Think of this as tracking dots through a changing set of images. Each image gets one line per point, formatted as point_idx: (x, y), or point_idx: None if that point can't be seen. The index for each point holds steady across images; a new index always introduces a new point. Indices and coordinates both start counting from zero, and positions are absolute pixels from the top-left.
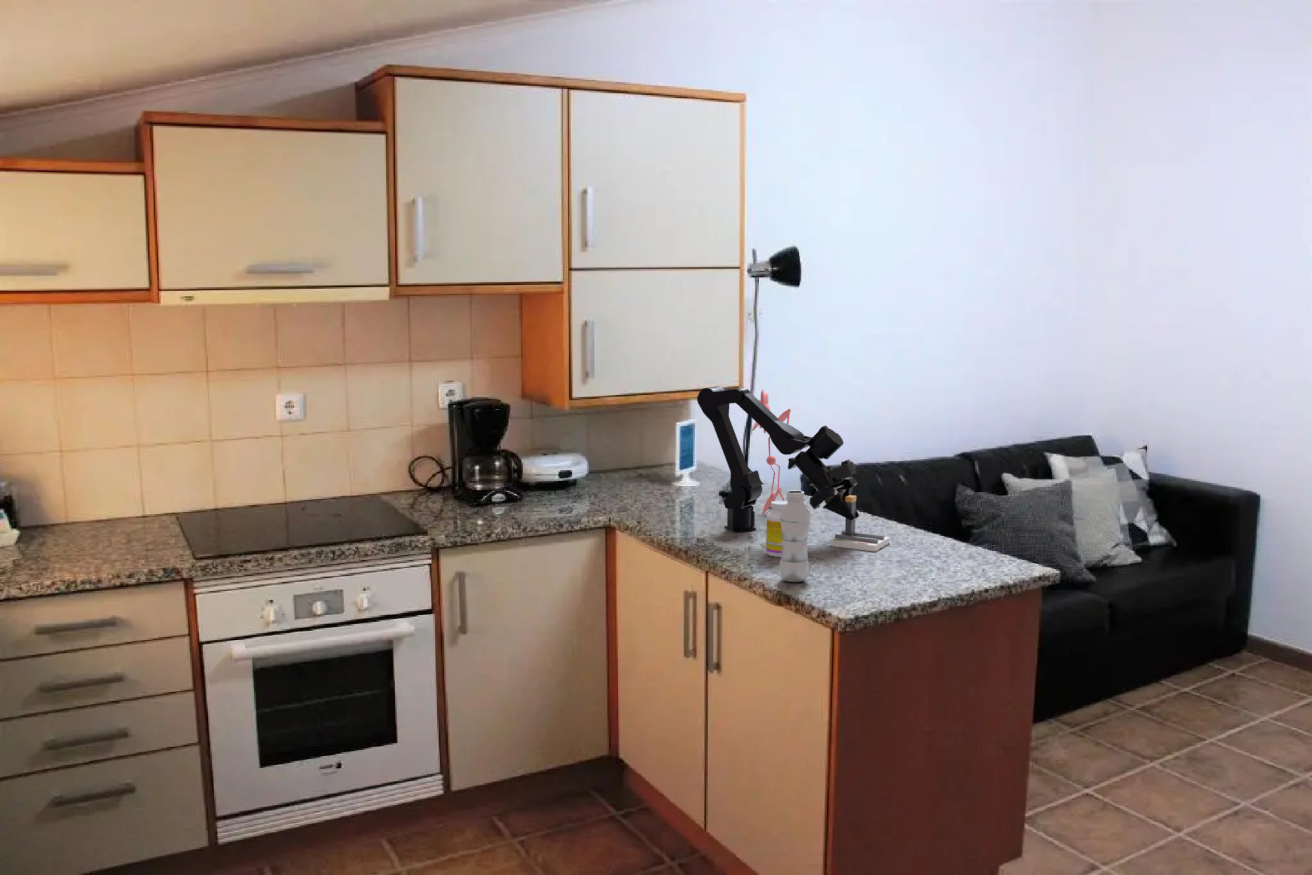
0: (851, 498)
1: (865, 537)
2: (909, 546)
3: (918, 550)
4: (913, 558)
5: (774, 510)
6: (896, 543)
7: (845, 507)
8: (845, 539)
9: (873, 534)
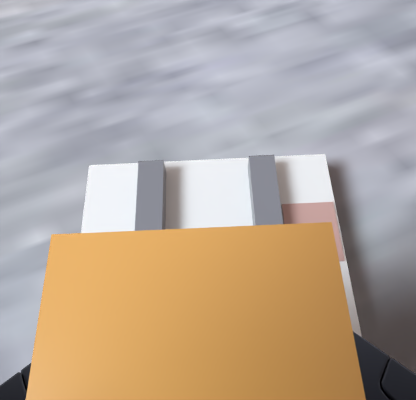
0: (330, 248)
1: None
2: (118, 93)
3: (173, 45)
4: (317, 19)
5: None
6: (83, 156)
7: (395, 370)
8: None
9: (142, 224)
